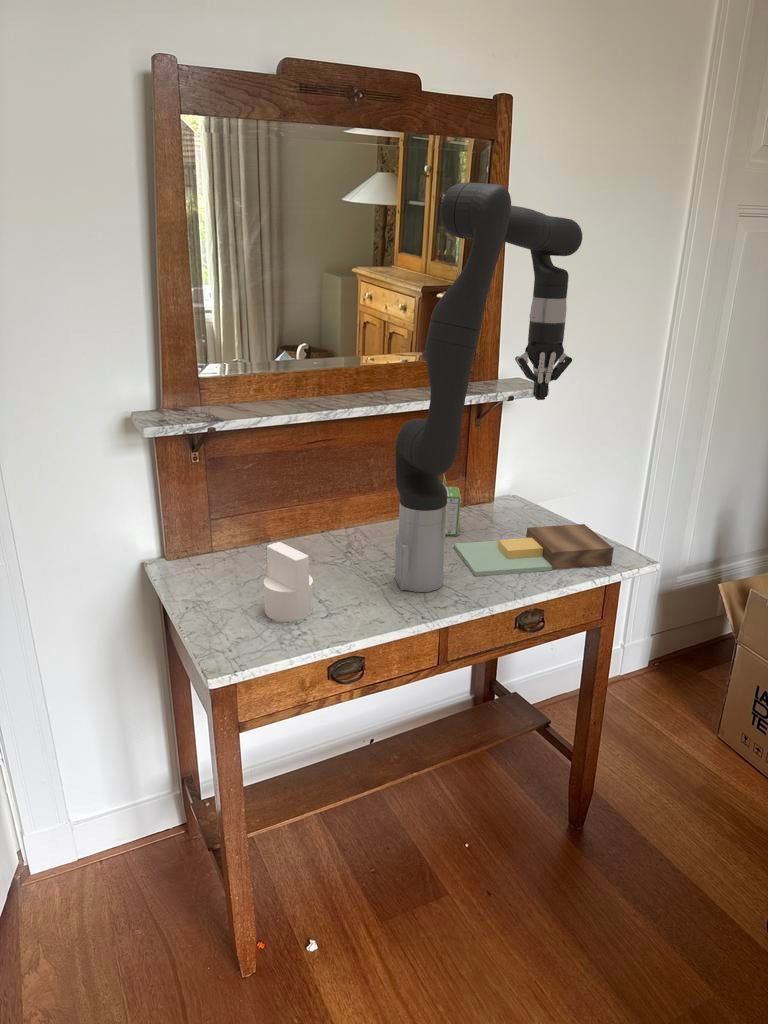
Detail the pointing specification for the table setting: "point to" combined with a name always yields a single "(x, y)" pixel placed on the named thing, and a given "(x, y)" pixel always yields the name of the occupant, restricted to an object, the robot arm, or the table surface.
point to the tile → (520, 548)
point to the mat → (496, 560)
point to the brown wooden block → (571, 546)
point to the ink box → (452, 509)
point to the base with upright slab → (287, 584)
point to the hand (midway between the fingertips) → (539, 399)
